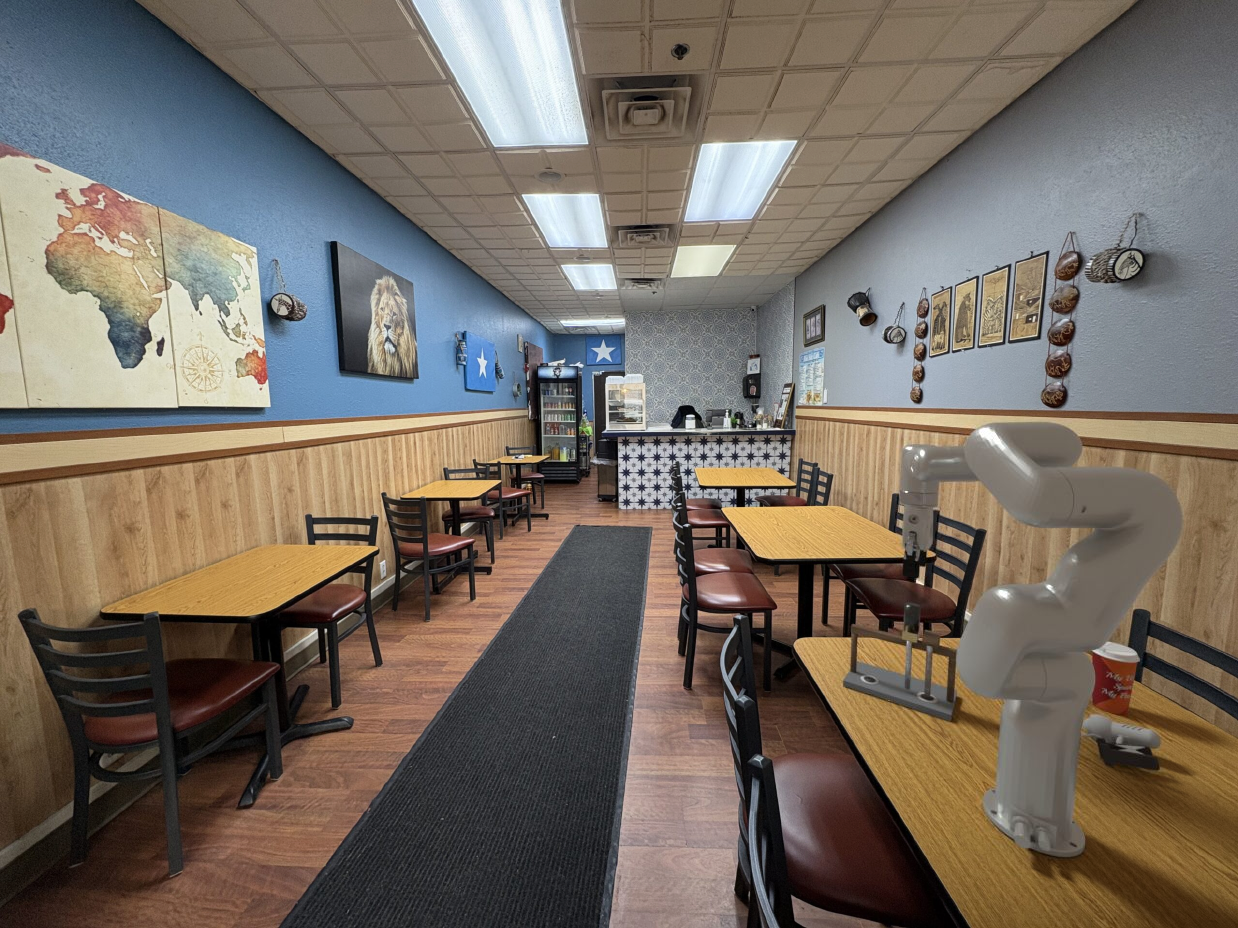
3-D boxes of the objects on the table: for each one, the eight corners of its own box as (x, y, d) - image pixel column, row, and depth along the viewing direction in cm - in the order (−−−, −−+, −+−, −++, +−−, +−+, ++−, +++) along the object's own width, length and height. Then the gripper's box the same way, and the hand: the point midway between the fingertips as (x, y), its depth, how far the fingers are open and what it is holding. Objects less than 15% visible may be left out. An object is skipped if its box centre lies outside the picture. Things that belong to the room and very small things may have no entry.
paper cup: (1111, 718, 104) (1116, 657, 103) (1076, 697, 112) (1081, 640, 110) (1145, 717, 104) (1151, 655, 103) (1108, 696, 112) (1114, 639, 111)
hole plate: (950, 721, 104) (951, 714, 104) (843, 685, 118) (843, 679, 118) (956, 696, 113) (957, 689, 113) (855, 665, 127) (856, 660, 127)
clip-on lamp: (1032, 750, 99) (1162, 782, 85) (1025, 720, 99) (1153, 747, 85) (1045, 721, 107) (1166, 746, 92) (1038, 693, 107) (1158, 714, 93)
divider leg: (914, 692, 111) (918, 610, 109) (898, 688, 113) (902, 606, 111) (917, 684, 115) (921, 604, 113) (902, 680, 117) (906, 600, 115)
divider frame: (952, 706, 107) (956, 644, 105) (847, 674, 121) (849, 618, 119) (954, 697, 110) (958, 637, 109) (852, 666, 124) (854, 613, 123)
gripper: (932, 506, 100) (927, 585, 102) (943, 494, 114) (938, 564, 116) (891, 502, 105) (888, 578, 107) (906, 491, 118) (903, 558, 120)
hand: (914, 571), depth 111 cm, fingers open, 9 cm apart
